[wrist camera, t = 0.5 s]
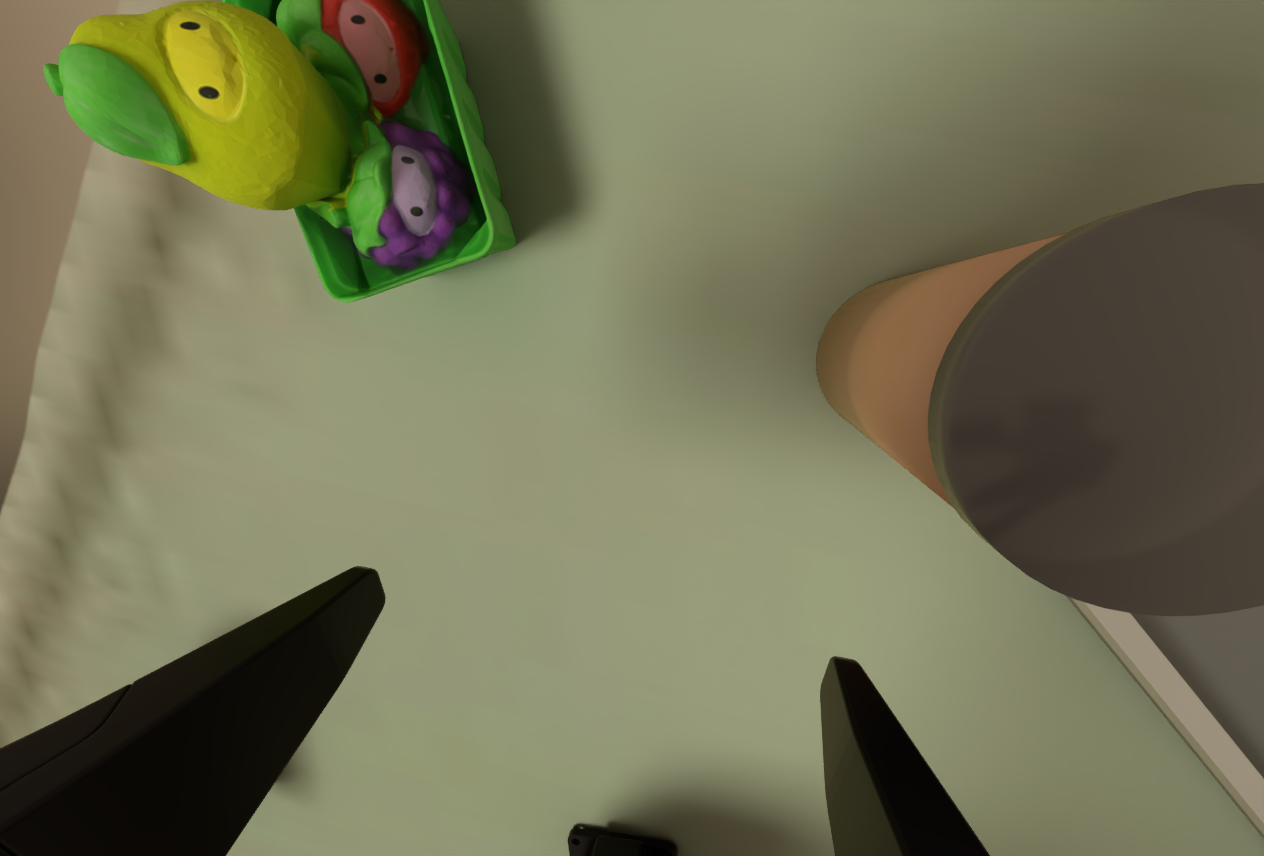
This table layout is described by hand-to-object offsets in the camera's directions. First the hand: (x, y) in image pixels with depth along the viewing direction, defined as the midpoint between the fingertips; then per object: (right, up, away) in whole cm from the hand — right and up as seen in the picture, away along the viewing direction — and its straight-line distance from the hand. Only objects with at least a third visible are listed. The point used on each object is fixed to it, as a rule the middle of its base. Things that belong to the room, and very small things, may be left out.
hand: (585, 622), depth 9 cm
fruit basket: (-8, +16, +13) cm, 22 cm away
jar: (+12, +7, +10) cm, 17 cm away
